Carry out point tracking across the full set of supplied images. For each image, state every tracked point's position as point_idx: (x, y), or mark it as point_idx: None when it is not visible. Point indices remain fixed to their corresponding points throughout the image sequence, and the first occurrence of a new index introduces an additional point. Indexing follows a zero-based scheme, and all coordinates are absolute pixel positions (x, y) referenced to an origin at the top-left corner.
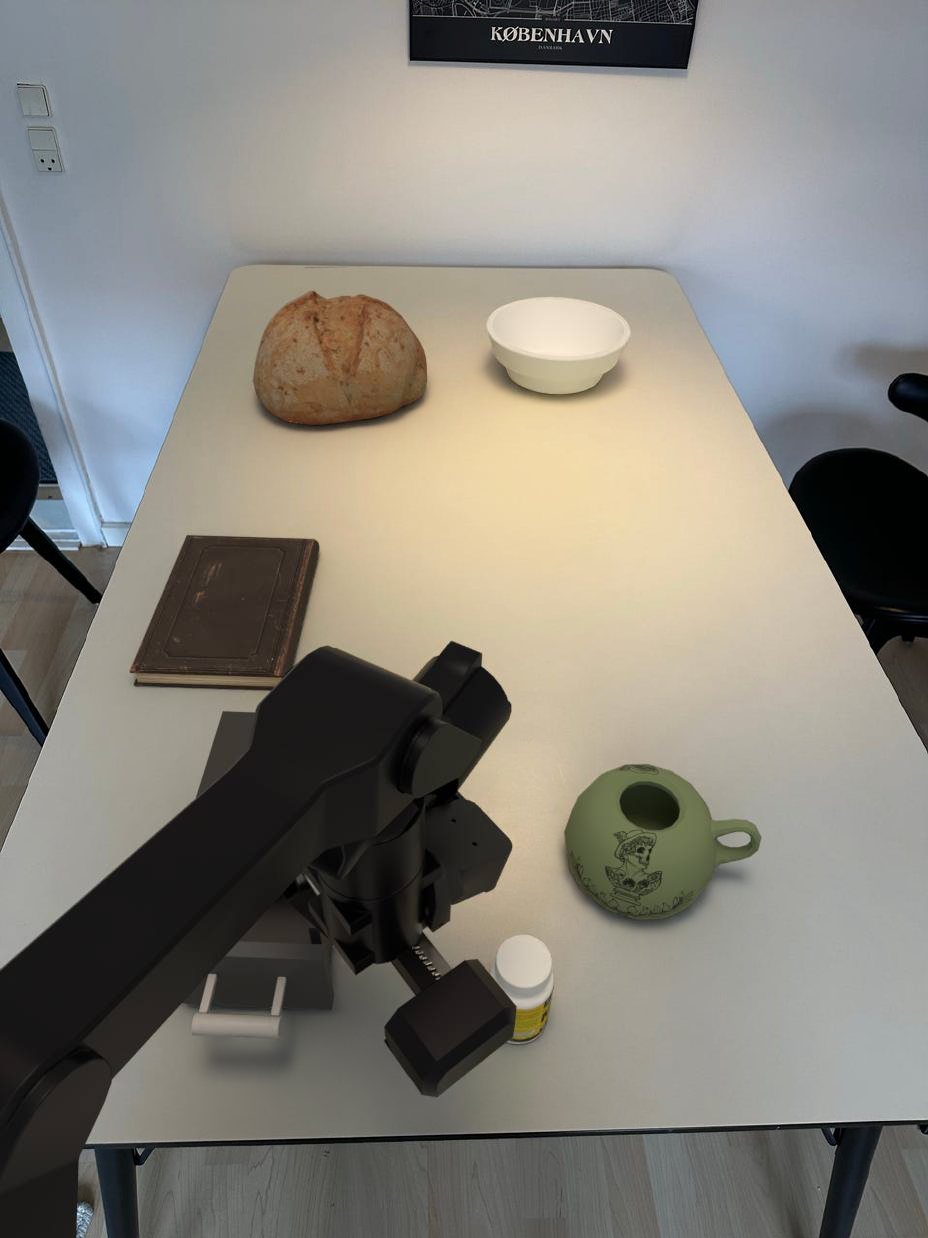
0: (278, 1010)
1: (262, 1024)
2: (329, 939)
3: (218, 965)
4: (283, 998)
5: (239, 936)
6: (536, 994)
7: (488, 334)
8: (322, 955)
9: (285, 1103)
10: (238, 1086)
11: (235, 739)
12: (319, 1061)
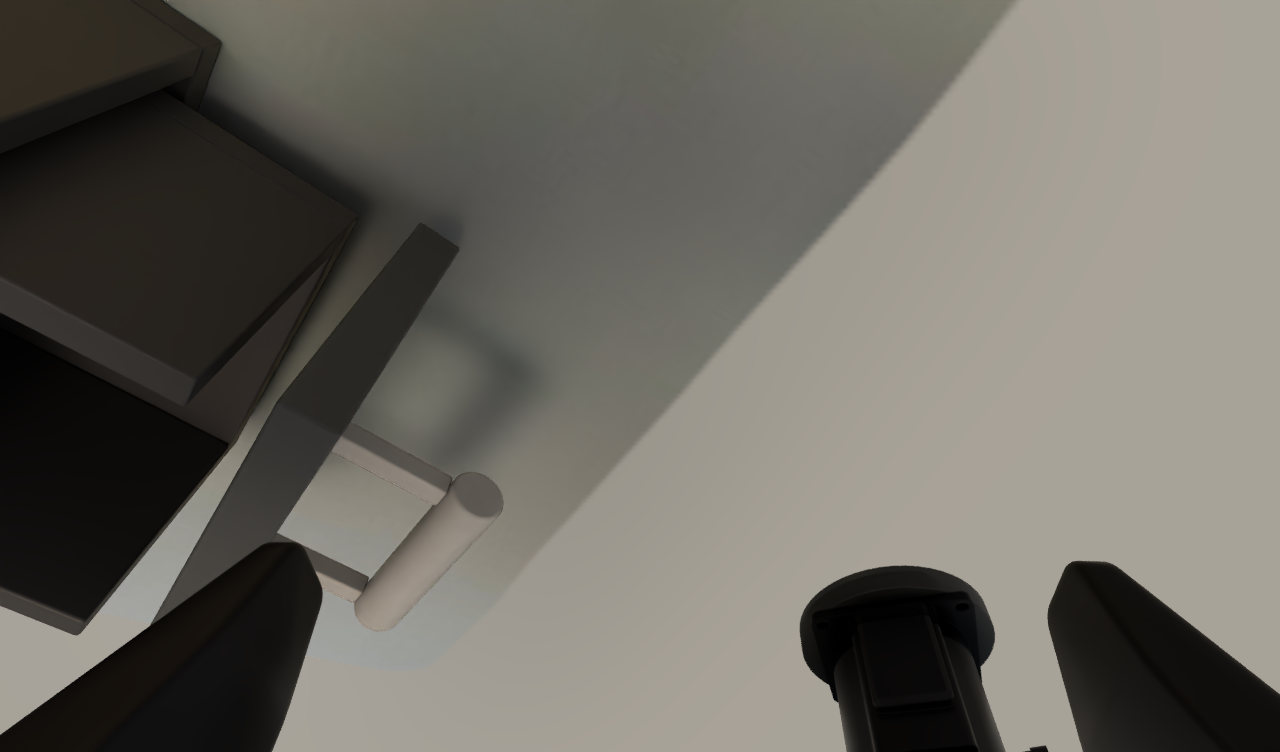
0: (431, 488)
1: (453, 540)
2: (284, 713)
3: None
4: (399, 451)
5: None
6: None
7: None
8: (319, 431)
9: (603, 403)
10: (519, 452)
11: None
12: (560, 312)
